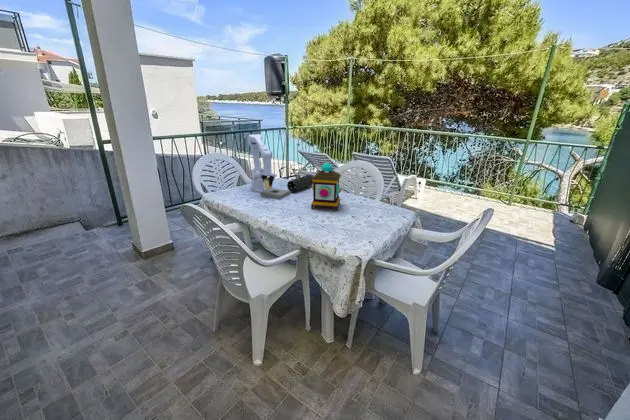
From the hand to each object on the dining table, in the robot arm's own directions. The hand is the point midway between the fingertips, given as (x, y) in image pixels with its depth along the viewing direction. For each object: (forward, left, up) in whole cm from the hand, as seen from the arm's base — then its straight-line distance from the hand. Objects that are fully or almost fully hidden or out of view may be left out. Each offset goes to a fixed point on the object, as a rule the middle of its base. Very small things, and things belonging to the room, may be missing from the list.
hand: (268, 185), depth 206 cm
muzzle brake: (+11, +31, -9) cm, 34 cm away
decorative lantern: (+47, +2, -9) cm, 48 cm away
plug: (0, 0, -2) cm, 2 cm away
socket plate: (+2, +6, -9) cm, 11 cm away
